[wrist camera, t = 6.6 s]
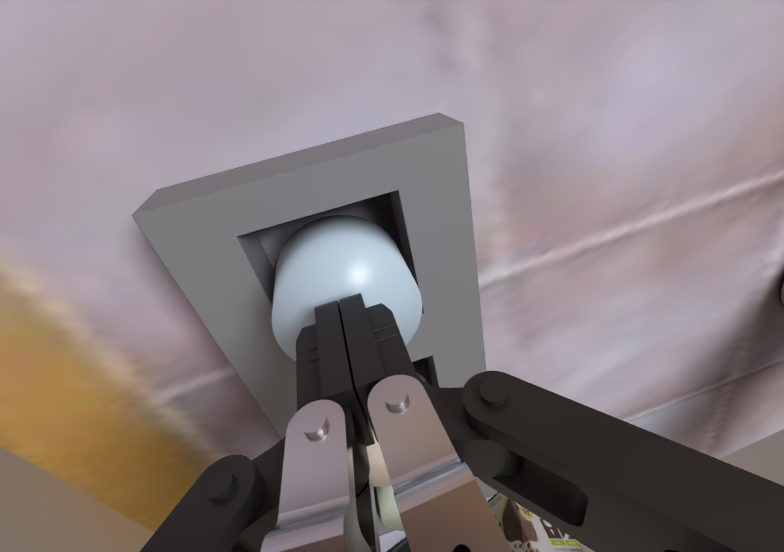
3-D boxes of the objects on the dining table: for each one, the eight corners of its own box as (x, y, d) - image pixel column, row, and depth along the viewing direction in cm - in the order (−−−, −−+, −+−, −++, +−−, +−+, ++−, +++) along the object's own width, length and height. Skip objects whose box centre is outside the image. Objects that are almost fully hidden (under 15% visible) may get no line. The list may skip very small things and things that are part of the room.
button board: (156, 189, 13) (131, 215, 11) (439, 112, 14) (463, 123, 12) (348, 508, 28) (352, 545, 26) (482, 461, 29) (497, 493, 27)
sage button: (364, 456, 24) (373, 507, 21) (437, 431, 24) (455, 478, 21) (381, 492, 26) (391, 542, 24) (446, 470, 27) (463, 516, 24)
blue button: (254, 237, 13) (243, 285, 10) (387, 198, 13) (409, 235, 11) (301, 336, 16) (303, 394, 13) (410, 302, 16) (433, 352, 14)
